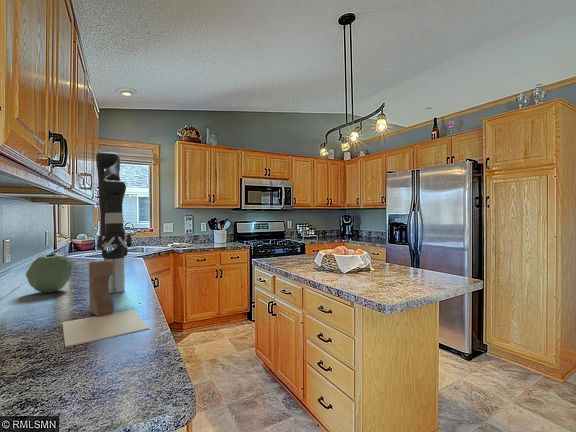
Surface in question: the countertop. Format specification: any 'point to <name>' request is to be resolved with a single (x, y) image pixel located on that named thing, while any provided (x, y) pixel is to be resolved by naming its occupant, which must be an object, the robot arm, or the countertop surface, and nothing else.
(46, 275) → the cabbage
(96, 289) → the decorative block
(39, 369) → the countertop surface
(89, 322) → the sand mat
